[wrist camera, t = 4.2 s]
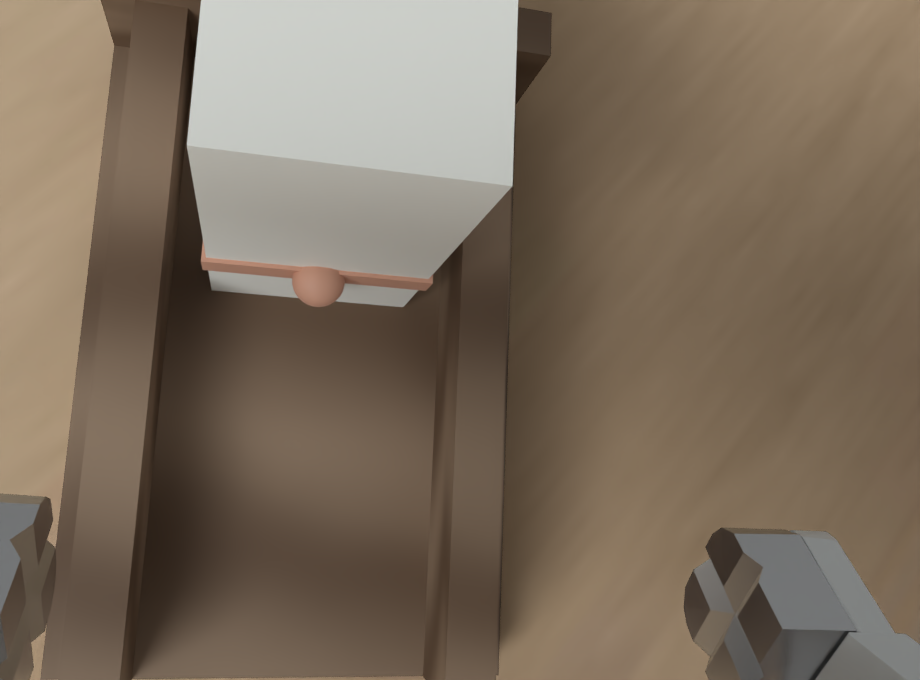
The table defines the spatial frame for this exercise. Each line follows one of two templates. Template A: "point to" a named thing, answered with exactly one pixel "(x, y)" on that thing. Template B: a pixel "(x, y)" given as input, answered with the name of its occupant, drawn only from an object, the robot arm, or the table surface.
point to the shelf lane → (272, 432)
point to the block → (348, 141)
